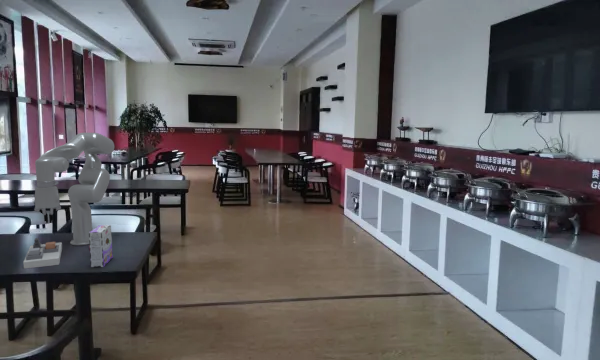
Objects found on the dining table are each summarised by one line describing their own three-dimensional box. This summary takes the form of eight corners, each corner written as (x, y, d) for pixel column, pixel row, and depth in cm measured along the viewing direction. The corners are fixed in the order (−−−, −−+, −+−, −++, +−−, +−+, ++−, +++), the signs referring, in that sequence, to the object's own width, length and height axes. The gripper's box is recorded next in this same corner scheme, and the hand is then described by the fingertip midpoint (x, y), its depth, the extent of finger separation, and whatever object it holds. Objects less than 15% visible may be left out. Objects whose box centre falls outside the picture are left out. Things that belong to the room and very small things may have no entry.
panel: (62, 248, 237) (61, 239, 237) (59, 264, 210) (58, 254, 210) (31, 251, 231) (30, 242, 231) (23, 268, 205) (23, 258, 204)
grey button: (40, 252, 214) (39, 247, 213) (39, 254, 210) (38, 249, 210) (30, 253, 212) (29, 248, 212) (29, 256, 208) (28, 250, 208)
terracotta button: (55, 246, 224) (55, 241, 224) (55, 248, 221) (54, 243, 220) (46, 247, 223) (46, 242, 222) (45, 249, 219) (45, 244, 219)
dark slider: (41, 245, 230) (40, 237, 229) (40, 247, 225) (39, 239, 225) (34, 246, 229) (33, 238, 228) (33, 248, 224) (32, 240, 224)
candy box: (100, 258, 220) (98, 224, 218) (113, 258, 220) (111, 224, 218) (90, 267, 206) (87, 231, 204) (103, 267, 207) (101, 231, 205)
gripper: (64, 182, 224) (67, 219, 226) (28, 184, 218) (31, 222, 220) (63, 184, 217) (66, 222, 220) (26, 186, 211) (29, 225, 213)
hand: (48, 222), depth 220 cm, fingers closed
